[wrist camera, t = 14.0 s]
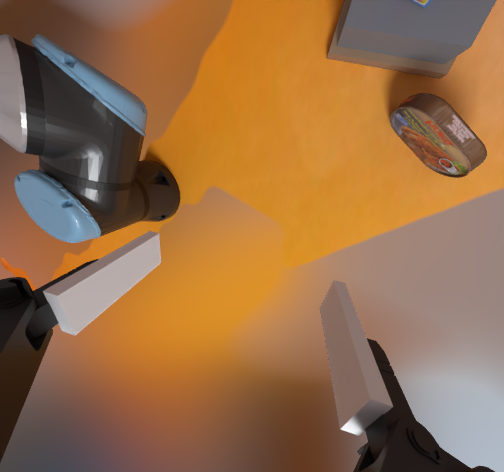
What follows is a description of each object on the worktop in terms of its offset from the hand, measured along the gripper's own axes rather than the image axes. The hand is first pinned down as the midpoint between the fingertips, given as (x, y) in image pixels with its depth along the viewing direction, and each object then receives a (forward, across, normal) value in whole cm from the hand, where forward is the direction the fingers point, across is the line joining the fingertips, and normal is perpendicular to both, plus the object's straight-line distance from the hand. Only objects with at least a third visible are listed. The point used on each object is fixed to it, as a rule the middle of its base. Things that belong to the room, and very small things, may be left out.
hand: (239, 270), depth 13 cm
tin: (+31, +23, +14) cm, 41 cm away
